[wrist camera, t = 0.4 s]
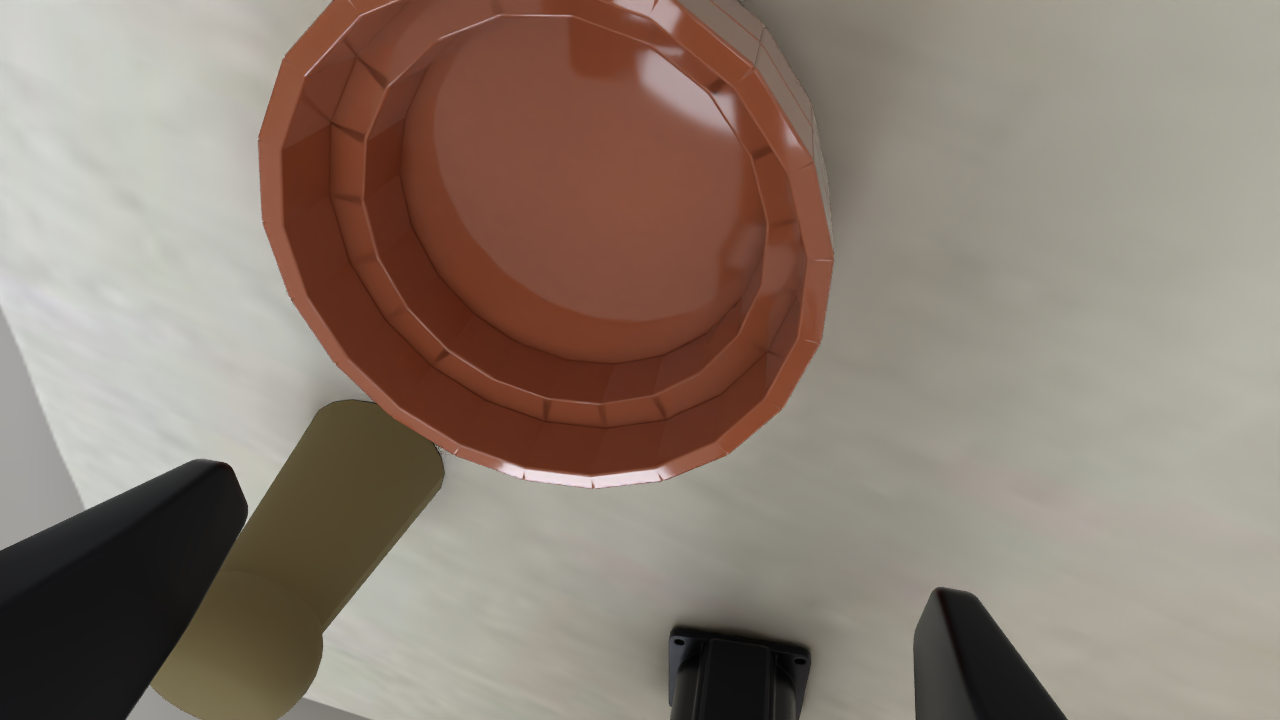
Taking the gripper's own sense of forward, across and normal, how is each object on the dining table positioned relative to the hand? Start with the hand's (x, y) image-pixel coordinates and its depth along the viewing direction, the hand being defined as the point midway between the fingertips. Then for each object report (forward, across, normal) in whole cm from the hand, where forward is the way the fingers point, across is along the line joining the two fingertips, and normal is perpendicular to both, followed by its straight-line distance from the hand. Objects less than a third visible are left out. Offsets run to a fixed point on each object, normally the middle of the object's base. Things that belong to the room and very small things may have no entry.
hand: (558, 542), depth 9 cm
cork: (+14, +13, +14) cm, 24 cm away
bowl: (+14, +3, +1) cm, 14 cm away
